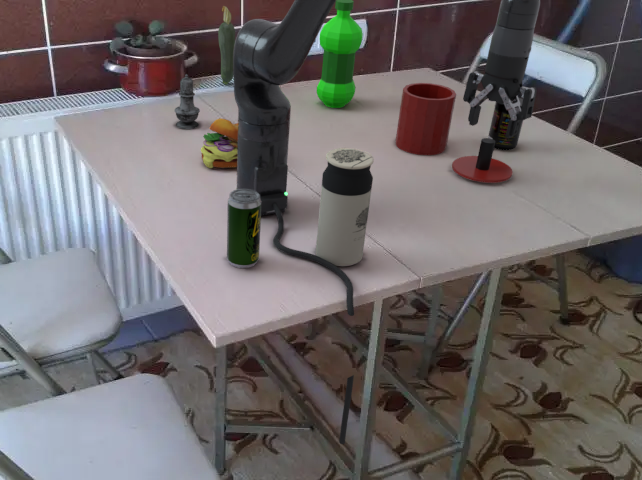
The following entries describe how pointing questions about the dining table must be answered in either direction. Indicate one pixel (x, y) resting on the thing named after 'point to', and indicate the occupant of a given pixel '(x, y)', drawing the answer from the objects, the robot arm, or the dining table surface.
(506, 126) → the supplement container
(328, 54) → the plastic bottle
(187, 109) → the salt shaker
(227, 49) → the vegetable
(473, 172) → the lid
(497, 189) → the dining table surface
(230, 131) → the cheeseburger
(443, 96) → the canister
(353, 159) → the travel mug
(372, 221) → the dining table surface
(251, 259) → the beer can
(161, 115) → the dining table surface
